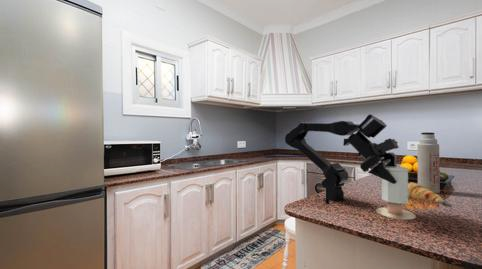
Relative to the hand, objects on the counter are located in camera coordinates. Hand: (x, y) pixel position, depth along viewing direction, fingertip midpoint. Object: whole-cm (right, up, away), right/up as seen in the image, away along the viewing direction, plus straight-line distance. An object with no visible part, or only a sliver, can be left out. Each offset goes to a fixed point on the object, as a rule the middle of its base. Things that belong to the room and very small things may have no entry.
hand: (399, 181), depth 73 cm
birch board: (-1, -12, +1) cm, 12 cm away
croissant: (+22, -12, +21) cm, 33 cm away
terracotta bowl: (-1, -11, +1) cm, 11 cm away
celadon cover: (-1, -7, +1) cm, 7 cm away
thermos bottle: (+37, -12, +32) cm, 51 cm away
